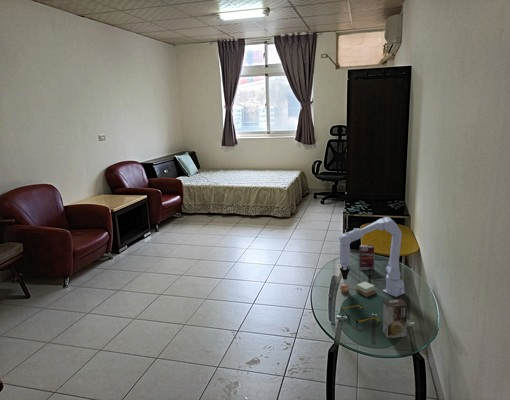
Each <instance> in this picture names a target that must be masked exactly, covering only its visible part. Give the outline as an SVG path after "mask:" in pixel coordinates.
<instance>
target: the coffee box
mask: <svg viewBox="0 0 510 400" xmlns="http://www.w3.org/2000/svg"><path fill="white" fill-rule="evenodd" d="M382 302H383V303H382V332H383V333H384V335H385V336H386V338H387V339H392V338H403V337H407V329H408V328H407V326H408V325H407V324H408V323H407V322H408V319H407V318H408V317H407V316H408V308H407V307H408V305H407V304H406V303H405V301H404V300H403V299H402V298H395V299H388V300H387V299H386V300H382Z"/></svg>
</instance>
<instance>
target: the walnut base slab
mask: <svg viewBox="0 0 510 400" xmlns="http://www.w3.org/2000/svg"><path fill="white" fill-rule="evenodd" d="M355 292H356V293H358V294H360V295H362V296H364V297H366V298H367V297H370V296H373V295H374V294H377V289H376V288H374V290H372V291H370V292H367V293H365V292H363V291H361V290H359V289H357V288H356V289H355Z"/></svg>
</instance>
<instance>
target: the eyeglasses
mask: <svg viewBox="0 0 510 400" xmlns="http://www.w3.org/2000/svg"><path fill="white" fill-rule="evenodd" d="M353 307H354V308H355V307H359V308H360V309H361V308H363V307H362V306H361V305H358V304H357V305H352V306H351V305H350V306H347V307H342V308H340V311H341V314H342V313H343V314H345V315H346V319H347V318H348V320H349V321H348V322H350V321H351V319H353V320H354V321H355V324H356V326H355V327H358V323H362V322H366V321H370V320H373V319H376V320H377V322H381V320H380V319H379V318H376V317H371V318H365V319H361V320H356V319H355V318H354V317H352V316H350V315H349V314H347V312H345V310H346V309H349V308H350V309H351V308H353Z"/></svg>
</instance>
